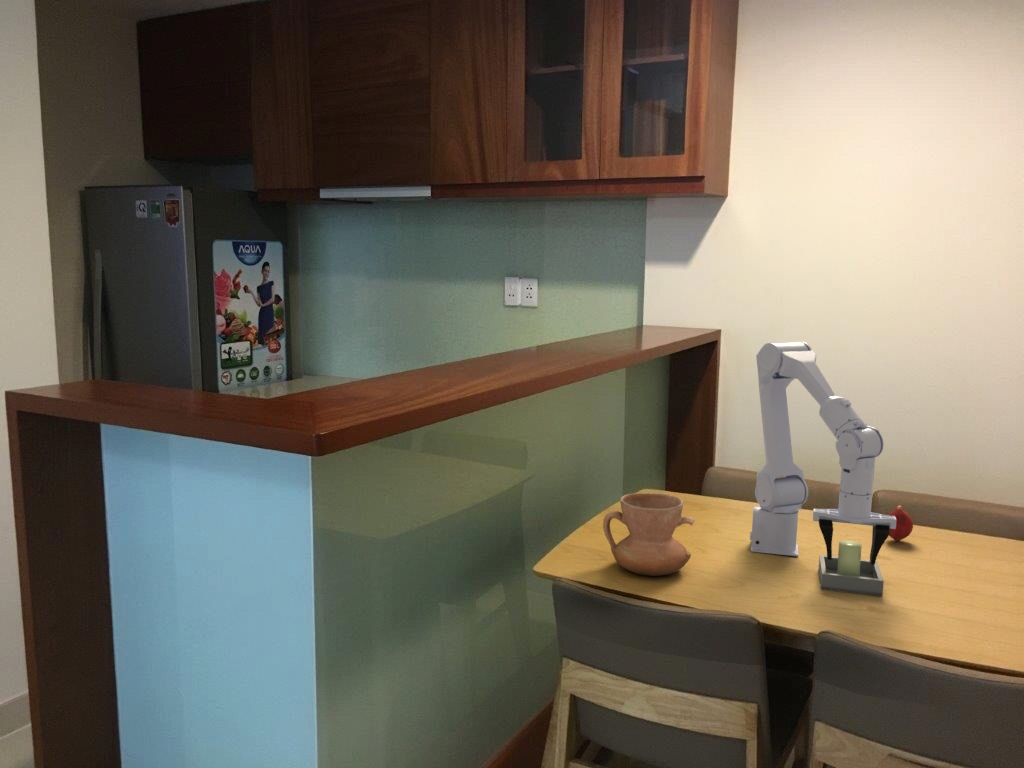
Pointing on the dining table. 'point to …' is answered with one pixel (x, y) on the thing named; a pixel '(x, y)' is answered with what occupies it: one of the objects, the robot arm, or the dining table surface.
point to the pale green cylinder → (849, 558)
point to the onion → (901, 524)
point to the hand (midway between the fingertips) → (850, 560)
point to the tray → (851, 578)
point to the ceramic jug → (649, 534)
